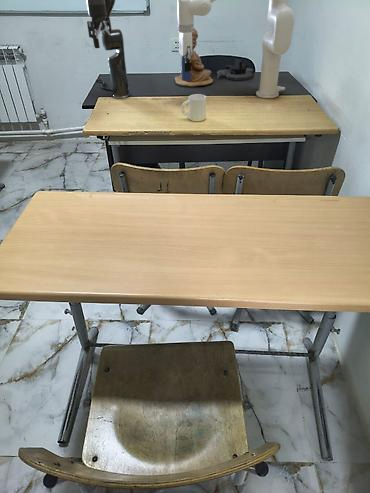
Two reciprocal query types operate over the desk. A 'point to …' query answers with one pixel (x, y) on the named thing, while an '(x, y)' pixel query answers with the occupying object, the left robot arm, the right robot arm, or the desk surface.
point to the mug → (195, 107)
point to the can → (185, 75)
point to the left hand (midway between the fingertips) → (102, 46)
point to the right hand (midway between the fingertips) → (186, 69)
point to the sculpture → (196, 69)
